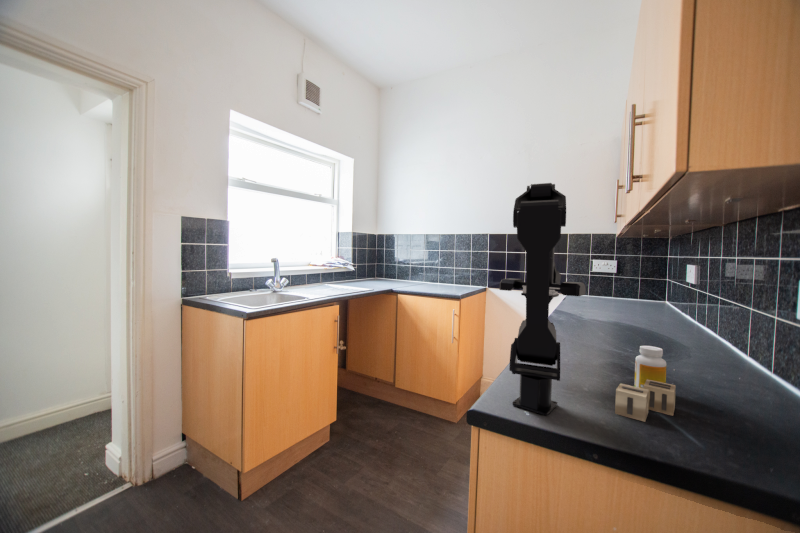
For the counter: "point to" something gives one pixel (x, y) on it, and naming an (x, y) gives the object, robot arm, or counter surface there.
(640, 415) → the oak block one
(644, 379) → the supplement bottle
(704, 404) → the counter surface
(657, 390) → the birch block two
